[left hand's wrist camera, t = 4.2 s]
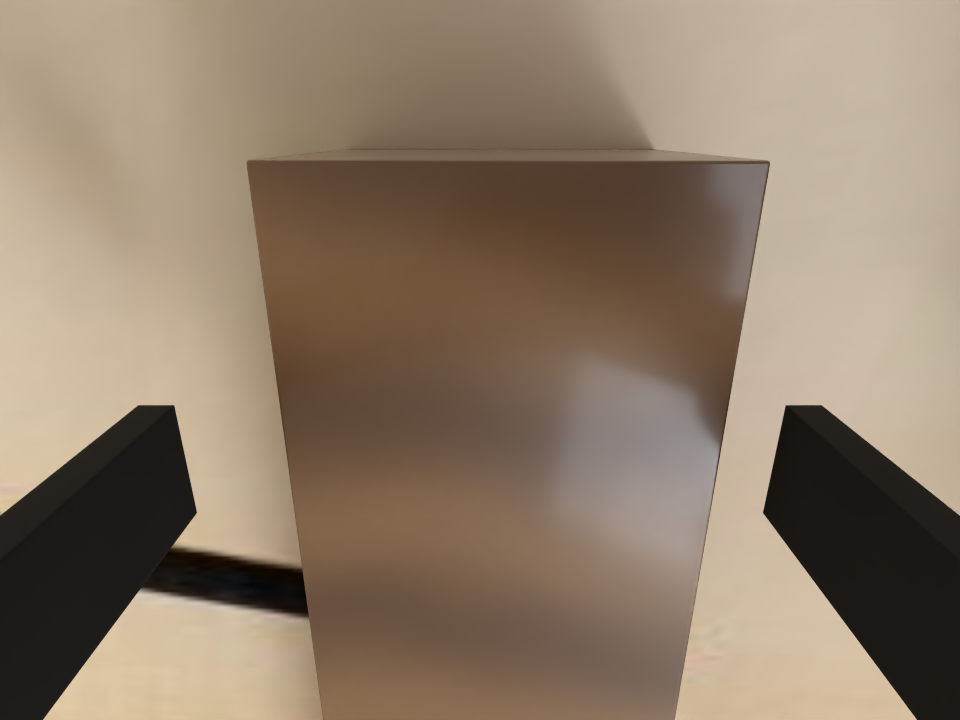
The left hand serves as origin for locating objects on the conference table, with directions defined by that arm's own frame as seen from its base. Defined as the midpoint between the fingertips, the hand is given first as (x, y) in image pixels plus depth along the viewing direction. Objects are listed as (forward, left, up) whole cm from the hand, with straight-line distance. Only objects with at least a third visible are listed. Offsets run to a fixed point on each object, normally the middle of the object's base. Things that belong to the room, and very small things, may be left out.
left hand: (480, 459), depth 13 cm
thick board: (+22, +25, -7) cm, 34 cm away
